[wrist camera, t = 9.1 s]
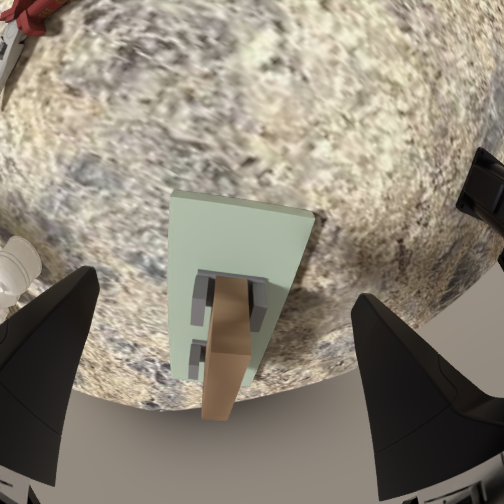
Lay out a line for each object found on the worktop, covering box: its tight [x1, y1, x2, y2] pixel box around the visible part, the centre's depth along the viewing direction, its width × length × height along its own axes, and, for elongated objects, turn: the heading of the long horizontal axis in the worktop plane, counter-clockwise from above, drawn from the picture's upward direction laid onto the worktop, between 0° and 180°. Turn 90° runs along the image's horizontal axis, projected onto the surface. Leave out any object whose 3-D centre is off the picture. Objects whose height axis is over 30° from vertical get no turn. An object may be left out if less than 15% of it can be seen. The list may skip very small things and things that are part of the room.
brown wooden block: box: [201, 275, 251, 421], centre depth 21 cm, size 2×12×7 cm, turn 169°
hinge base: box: [167, 190, 315, 386], centre depth 24 cm, size 10×24×4 cm, turn 169°
